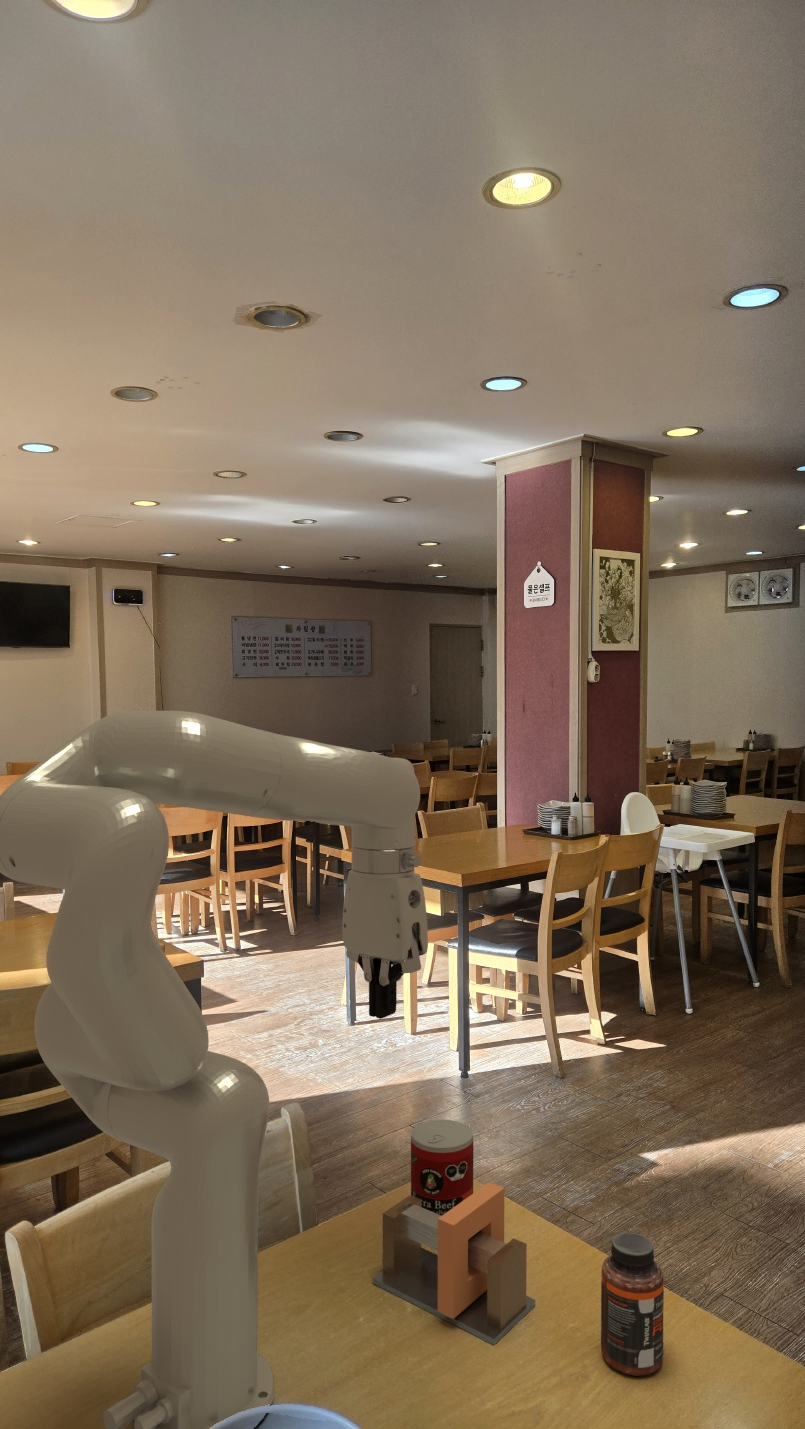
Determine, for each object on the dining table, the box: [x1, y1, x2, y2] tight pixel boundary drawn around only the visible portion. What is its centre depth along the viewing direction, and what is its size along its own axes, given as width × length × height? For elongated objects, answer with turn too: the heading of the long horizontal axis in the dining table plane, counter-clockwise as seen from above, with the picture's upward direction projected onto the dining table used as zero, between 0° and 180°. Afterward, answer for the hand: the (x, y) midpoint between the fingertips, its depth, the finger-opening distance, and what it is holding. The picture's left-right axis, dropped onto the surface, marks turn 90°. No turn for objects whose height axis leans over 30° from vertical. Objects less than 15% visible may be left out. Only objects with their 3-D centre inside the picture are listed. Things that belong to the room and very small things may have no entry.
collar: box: [437, 1181, 505, 1319], centre depth 99 cm, size 2×10×10 cm, turn 141°
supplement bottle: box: [600, 1232, 665, 1377], centre depth 91 cm, size 6×6×11 cm
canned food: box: [410, 1119, 474, 1216], centre depth 116 cm, size 8×8×11 cm
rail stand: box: [371, 1194, 536, 1346], centre depth 101 cm, size 16×8×7 cm, turn 51°
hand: (382, 1014), depth 111 cm, fingers closed
